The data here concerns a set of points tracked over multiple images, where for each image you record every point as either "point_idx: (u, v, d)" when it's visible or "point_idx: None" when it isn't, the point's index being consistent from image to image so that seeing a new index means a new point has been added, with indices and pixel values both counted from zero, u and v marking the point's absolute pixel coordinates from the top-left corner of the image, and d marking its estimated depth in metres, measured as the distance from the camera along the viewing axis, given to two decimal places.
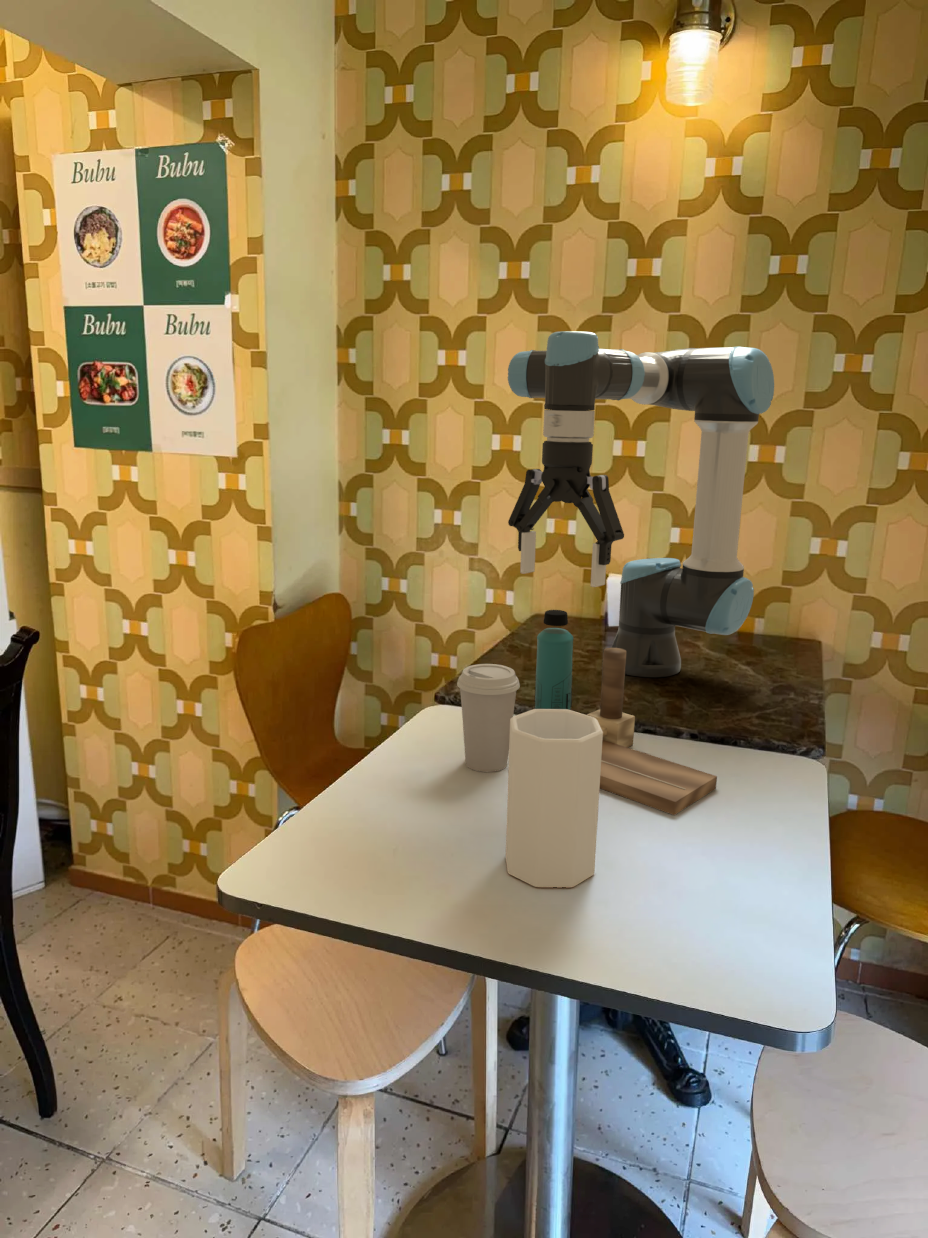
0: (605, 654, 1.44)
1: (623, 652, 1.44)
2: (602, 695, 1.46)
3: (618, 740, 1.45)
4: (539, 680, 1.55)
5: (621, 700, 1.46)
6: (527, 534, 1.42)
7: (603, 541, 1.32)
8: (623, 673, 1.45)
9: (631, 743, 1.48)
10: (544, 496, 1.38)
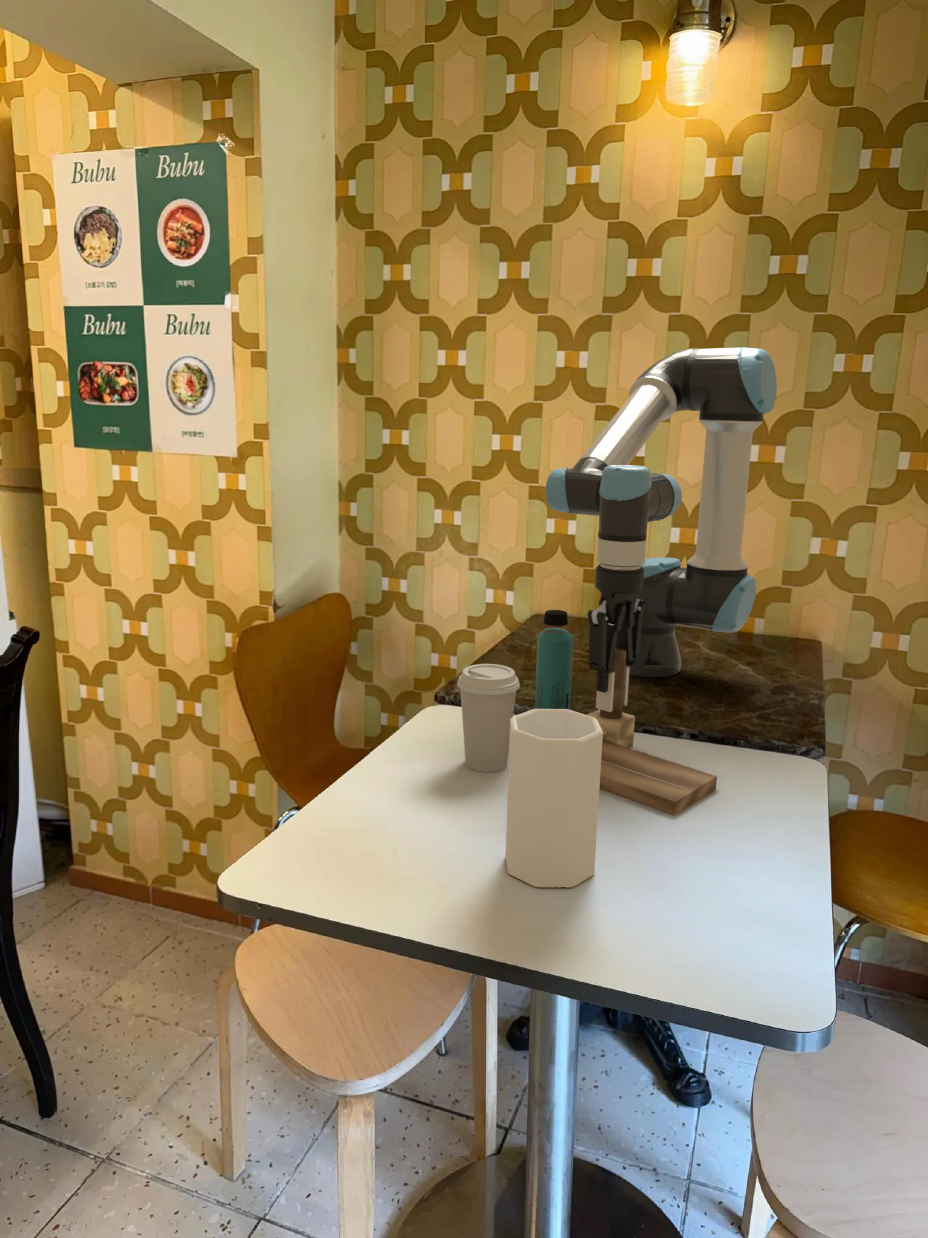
0: None
1: (623, 652, 1.44)
2: None
3: (618, 740, 1.45)
4: (539, 680, 1.55)
5: (621, 700, 1.46)
6: None
7: None
8: (623, 673, 1.45)
9: (631, 743, 1.48)
10: None
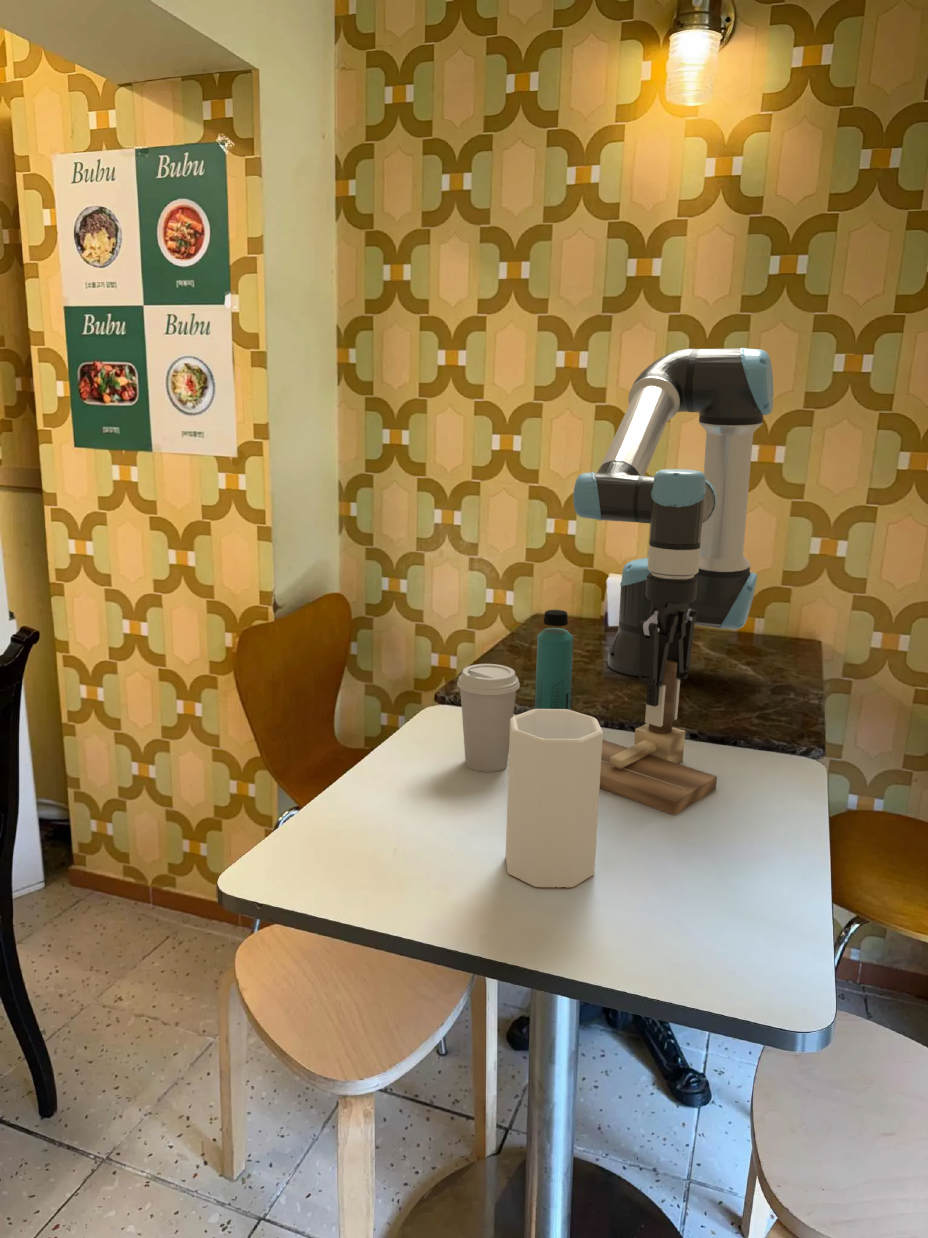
0: None
1: (674, 664, 1.38)
2: None
3: (668, 756, 1.39)
4: (539, 680, 1.55)
5: (671, 714, 1.40)
6: None
7: None
8: (674, 686, 1.39)
9: (680, 759, 1.42)
10: None
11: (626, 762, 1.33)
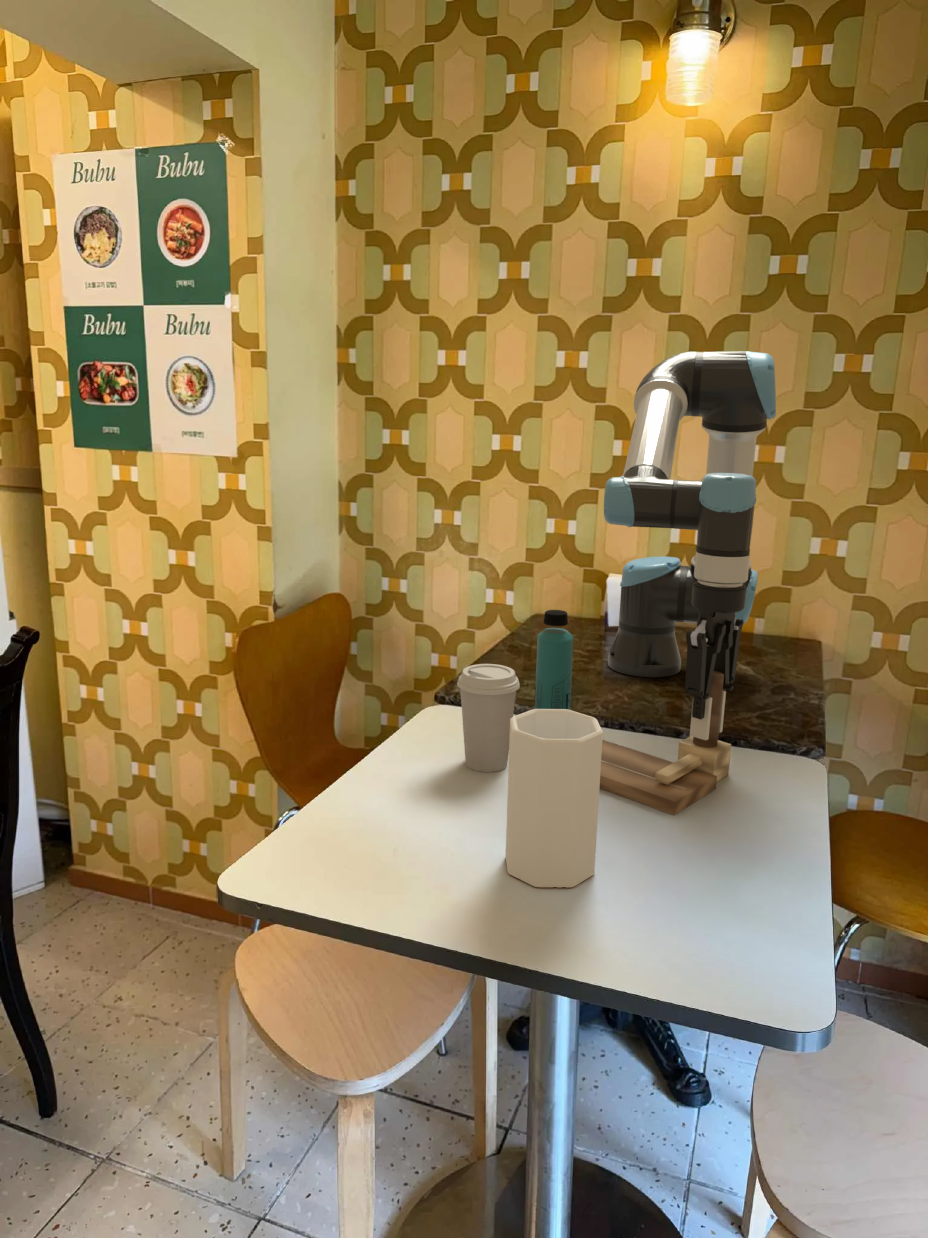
0: None
1: (720, 675, 1.33)
2: None
3: (714, 771, 1.34)
4: (539, 680, 1.55)
5: (717, 727, 1.35)
6: None
7: None
8: (720, 698, 1.34)
9: (726, 773, 1.37)
10: None
11: (672, 778, 1.28)
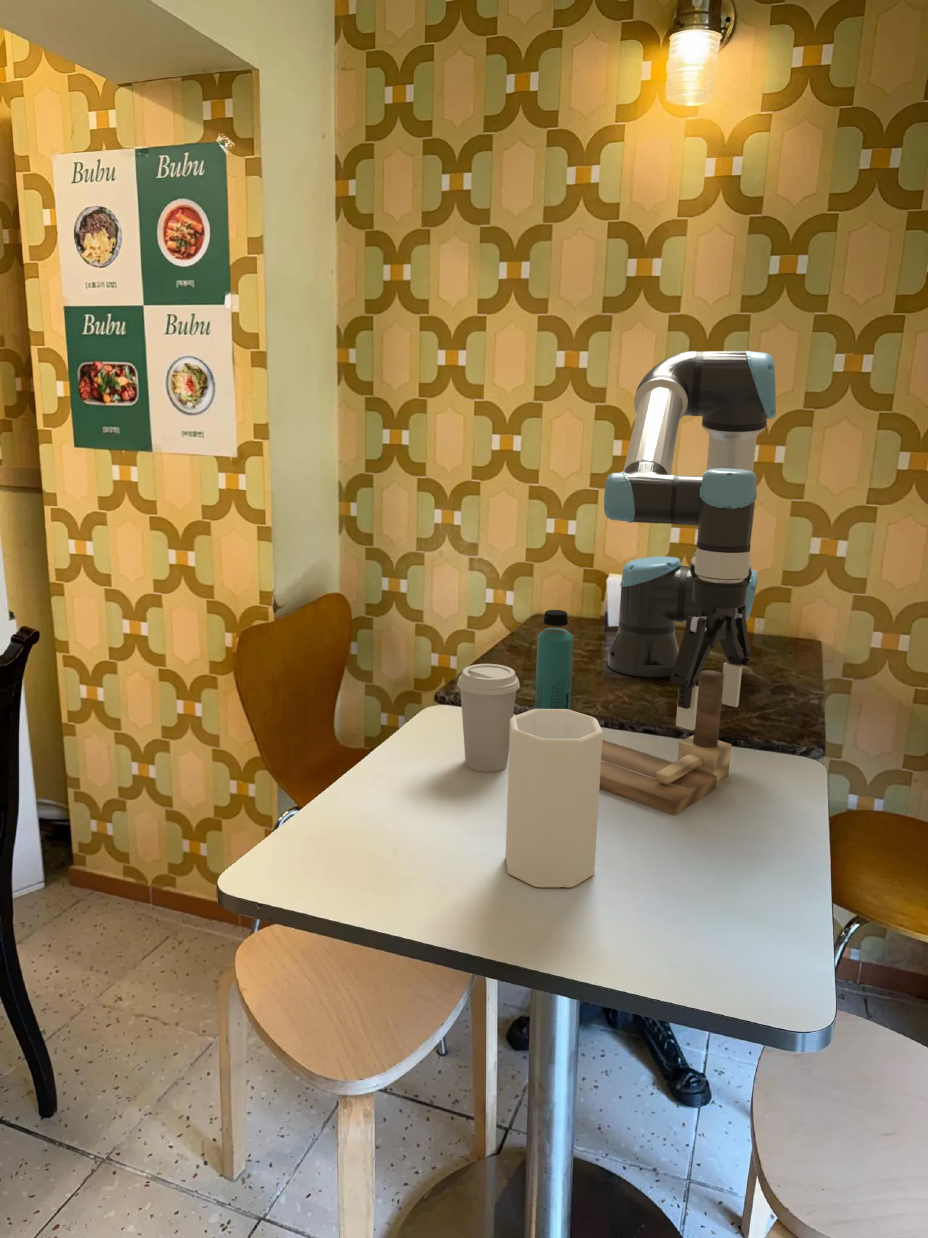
0: (701, 678, 1.33)
1: (720, 675, 1.33)
2: (696, 721, 1.35)
3: (714, 771, 1.34)
4: (539, 680, 1.55)
5: (717, 727, 1.35)
6: (726, 665, 1.39)
7: None
8: (720, 698, 1.34)
9: (726, 773, 1.37)
10: None
11: (673, 778, 1.28)
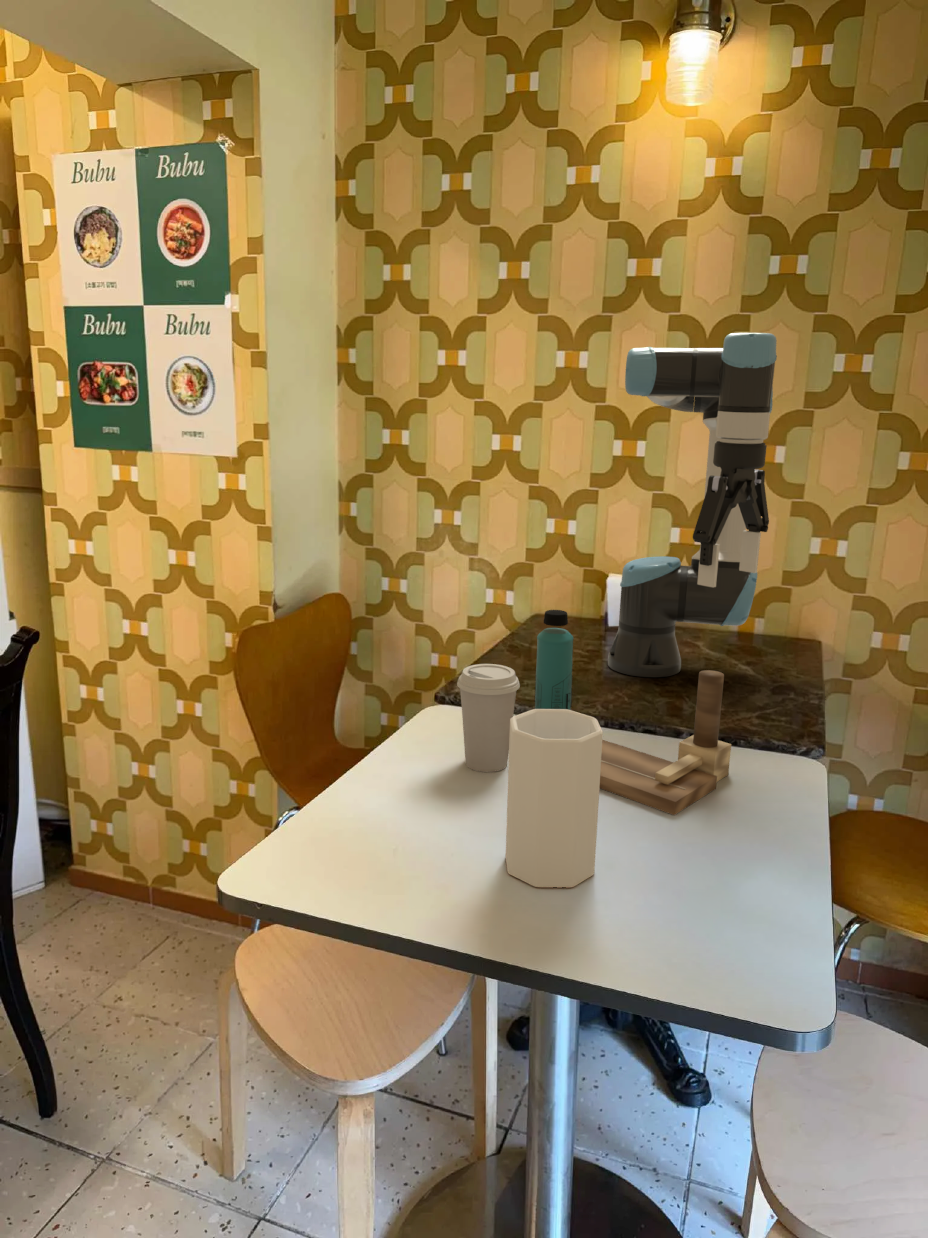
0: (701, 678, 1.33)
1: (720, 675, 1.33)
2: (696, 721, 1.35)
3: (714, 771, 1.34)
4: (539, 680, 1.55)
5: (717, 727, 1.35)
6: (745, 532, 1.44)
7: (697, 539, 1.34)
8: (720, 698, 1.34)
9: (726, 773, 1.37)
10: None
11: (673, 778, 1.28)
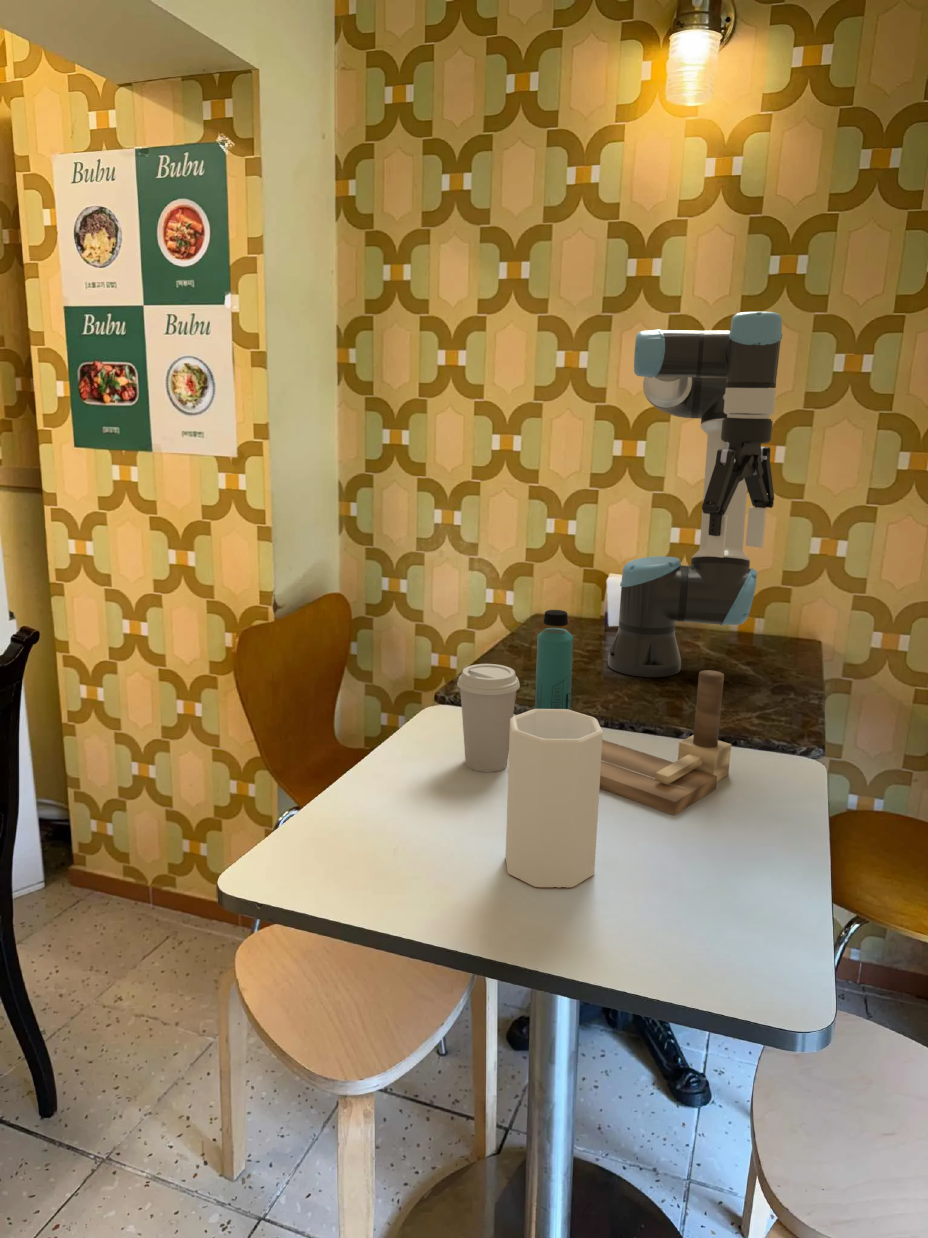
0: (701, 678, 1.33)
1: (720, 675, 1.33)
2: (696, 721, 1.35)
3: (714, 771, 1.34)
4: (539, 680, 1.55)
5: (717, 727, 1.35)
6: (752, 508, 1.49)
7: (706, 511, 1.39)
8: (720, 698, 1.34)
9: (726, 773, 1.37)
10: None
11: (673, 778, 1.28)
